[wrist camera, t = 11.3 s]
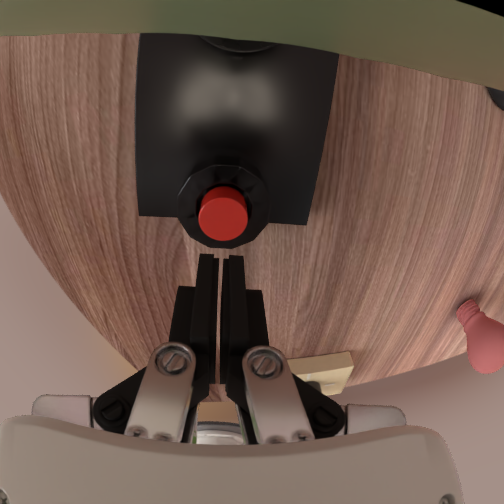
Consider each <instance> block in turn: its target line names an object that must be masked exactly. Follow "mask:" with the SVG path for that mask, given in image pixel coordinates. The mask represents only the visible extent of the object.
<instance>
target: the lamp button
mask: <svg viewBox="0 0 504 504" xmlns="http://www.w3.org/2000/svg"><path fill="white" fill-rule="evenodd" d="M198 219H199V225H200V227H201V229H202V231H203V232H204V233H205V234H206V235H207V236H209V237H210V238H212V239H215V240H220V241H226V240H231V239H234V238H236V237H238V236H239V235H240V234H241V233H242V232H243V231H244V230H245V228H246V226H247V223H248V215H247V206H246V201H245V198H244V197H243V195H242V194H241V193H240V192H239V191H237V190H236V189H234V188H231V187H226V186H221V187H216V188H214V189H212V190H210V191H209V192H208V193H206V195H205V196H204V198H203V200H202V203H201V207H200V212H199V218H198Z"/></svg>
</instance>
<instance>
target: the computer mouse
mask: <svg viewBox="0 0 504 504" xmlns="http://www.w3.org/2000/svg"><path fill="white" fill-rule="evenodd" d="M488 90H489V92H490V94H491V96H492V98H493V100H494V101H495V103H496V104H497V106H498V107H499V108H500V109H502V110H504V91H501V90H498V89H494V88H491V87H488Z"/></svg>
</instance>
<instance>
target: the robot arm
mask: <svg viewBox="0 0 504 504" xmlns="http://www.w3.org/2000/svg"><path fill="white" fill-rule="evenodd" d="M218 272H219V258H214V254H200V257H199V264H198V271H197V279H196V286H195V287H190V286H179V287H178V290H177V295H176V301H175V306H174V312H173V318H172V323H171V329H170V335H169V342H166V343H163V344H161V345H159V346H158V347H157V348H156V349H154V351H153V353H152V354H151V357H150V360H149V362H148V365H147V366H146V367H145V368H143V369H142V370H140V371H138V372H137V373H135V374H134V375H132V376H131V377H129V378H127V379H126V380H124V381H123V382H121V383H119V384H118V385H116V386H115V387H113V388H112V389H110V390H108V391H106V392H105V393H103V394H102V395H101V396H99V397H95V398H94V397H93V398H91V397H90V395H47V394H46V395H41V396H39V397H38V398H37V399H36V400H35V401H34V403H33V406H32V415H22V416H15V417H12V418H9V419H7V420H5V421H3V422H2V423H1V424H0V504H464V499H463V494H462V489H461V484H460V480H459V476H458V473H457V470H456V466H455V463H454V460H453V458H452V455H451V452H450V450H449V448H448V446H447V444H446V443H445V440H444V439H443V438H442V436H441V435H440V434H439V433H437V432H436V431H434V430H432V429H429V428H425V427H420V426H411V425H406V418H405V415H404V413H403V412H402V410H401V409H399V408H397V407H394V406H378V405H358V404H347V405H346V406H341V405H339V404H337V403H336V402H335V401H333V400H332V399H330V398H329V397H327V396H326V395H324V394H323V393H321V392H320V391H318V390H317V389H315V388H314V387H312V386H311V385H309V384H308V383H306V382H305V381H303V380H302V379H301V378H299V377H298V376H296V375H295V374H293V373H292V372H291V370H290V367H289V364H288V361H287V359H286V357H285V355H284V354H283V353H282V352H281V351H280V350H278V349H276V348H274V347H271V346H269V339H268V332H267V324H266V317H265V309H264V302H263V295H262V291H261V290H249V289H246V286H245V272H244V258H243V256H236V255H229V259H224V260H223V276H222V292H221V310H220V384H225V392H227V396H228V397H229V398H230V399H231V400H232V401H233V402H235V406H236V411H237V416H238V420H239V425H240V429H241V433H242V435H241V434H238V433H235V432H230V431H222V430H201V431H197V443H196V444H192V440H193V435H194V430H195V425H196V420H197V415H198V410H199V405H200V402H201V401H202V400H203V399H205V398H206V397H207V396H208V395H209V384H215V366H216V332H217V298H218ZM243 442H244V445H241V444H242V443H243Z"/></svg>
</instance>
